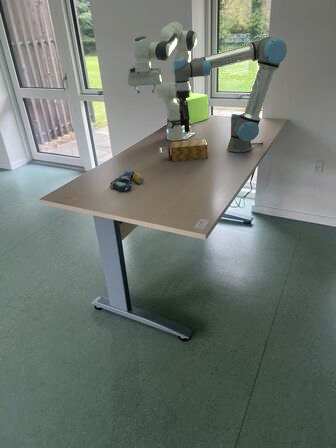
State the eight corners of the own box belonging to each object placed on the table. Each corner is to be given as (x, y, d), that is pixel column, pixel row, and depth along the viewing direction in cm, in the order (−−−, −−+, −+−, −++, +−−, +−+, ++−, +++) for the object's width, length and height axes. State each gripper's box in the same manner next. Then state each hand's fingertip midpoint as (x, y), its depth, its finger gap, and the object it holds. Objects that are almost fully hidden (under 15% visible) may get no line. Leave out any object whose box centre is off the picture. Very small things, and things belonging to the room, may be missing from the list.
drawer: (160, 160, 208) (159, 150, 204) (160, 155, 216) (159, 145, 213) (201, 156, 207) (201, 146, 204) (199, 151, 216) (199, 141, 212)
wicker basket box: (172, 161, 208) (171, 147, 203) (171, 155, 217) (170, 142, 213) (207, 158, 207) (207, 144, 203) (205, 152, 217) (205, 139, 212)
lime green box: (191, 115, 302) (190, 88, 290) (208, 118, 288) (208, 90, 276) (170, 121, 289) (168, 93, 277) (187, 125, 275) (185, 95, 263)
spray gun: (149, 177, 188) (127, 175, 194) (148, 170, 185) (126, 168, 192) (130, 194, 172) (106, 191, 179) (129, 187, 170) (105, 183, 176)
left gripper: (161, 66, 198) (163, 91, 205) (128, 68, 201) (131, 92, 208) (160, 67, 193) (162, 93, 200) (125, 70, 196) (128, 94, 203)
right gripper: (172, 87, 194) (175, 124, 205) (179, 94, 173) (182, 135, 184) (185, 85, 194) (187, 122, 205) (193, 93, 173) (195, 133, 184)
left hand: (146, 93), depth 204 cm, fingers open, 8 cm apart
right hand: (185, 128), depth 195 cm, fingers open, 13 cm apart
